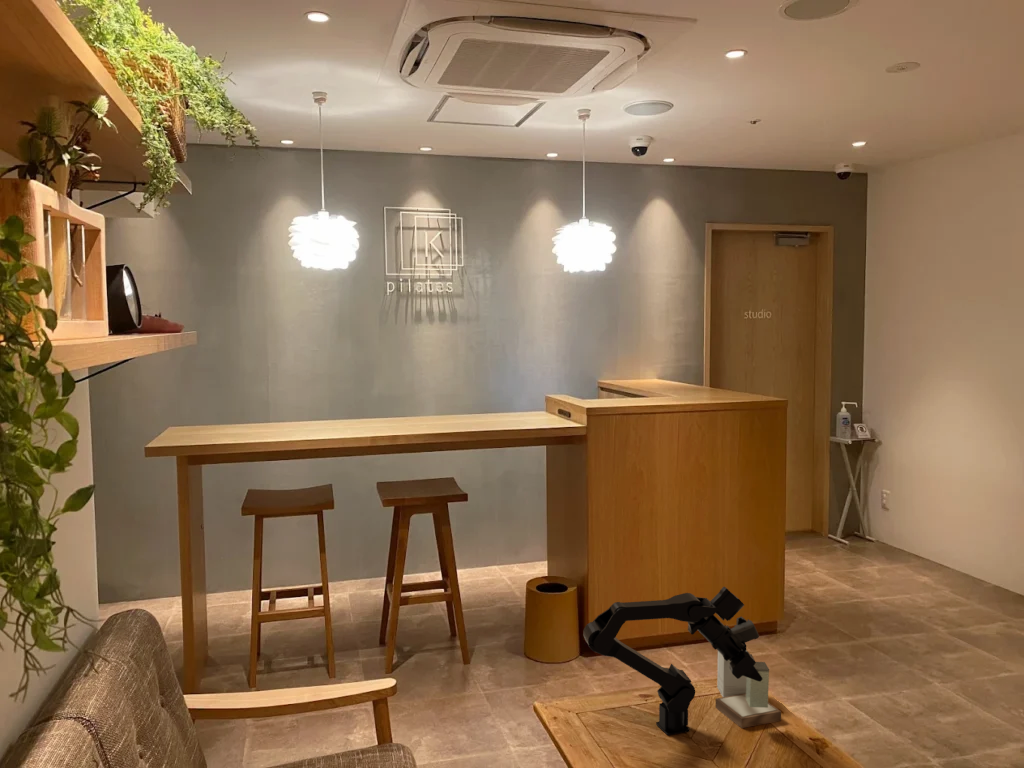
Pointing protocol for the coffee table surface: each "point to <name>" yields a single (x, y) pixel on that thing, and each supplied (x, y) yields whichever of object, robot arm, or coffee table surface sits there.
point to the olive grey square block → (758, 687)
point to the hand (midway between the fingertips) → (759, 676)
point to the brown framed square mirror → (746, 711)
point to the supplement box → (729, 679)
